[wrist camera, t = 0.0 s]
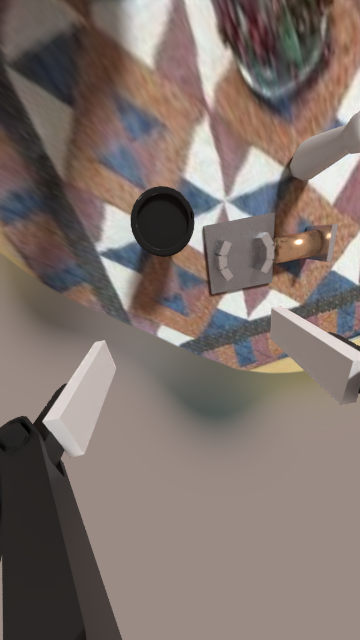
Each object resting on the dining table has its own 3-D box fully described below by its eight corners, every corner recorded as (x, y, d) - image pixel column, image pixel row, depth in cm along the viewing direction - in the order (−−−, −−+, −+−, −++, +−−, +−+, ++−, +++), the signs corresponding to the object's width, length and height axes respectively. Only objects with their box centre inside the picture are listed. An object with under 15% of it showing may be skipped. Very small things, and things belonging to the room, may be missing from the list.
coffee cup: (188, 245, 37) (202, 249, 24) (149, 255, 38) (140, 265, 24) (179, 198, 34) (188, 171, 20) (135, 210, 34) (116, 191, 21)
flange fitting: (203, 226, 36) (211, 224, 30) (313, 204, 36) (342, 198, 30) (210, 292, 42) (218, 301, 36) (305, 274, 42) (328, 280, 36)
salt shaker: (279, 176, 34) (340, 142, 22) (295, 137, 32) (373, 78, 20) (304, 188, 35) (375, 163, 23) (322, 152, 33) (411, 103, 21)
